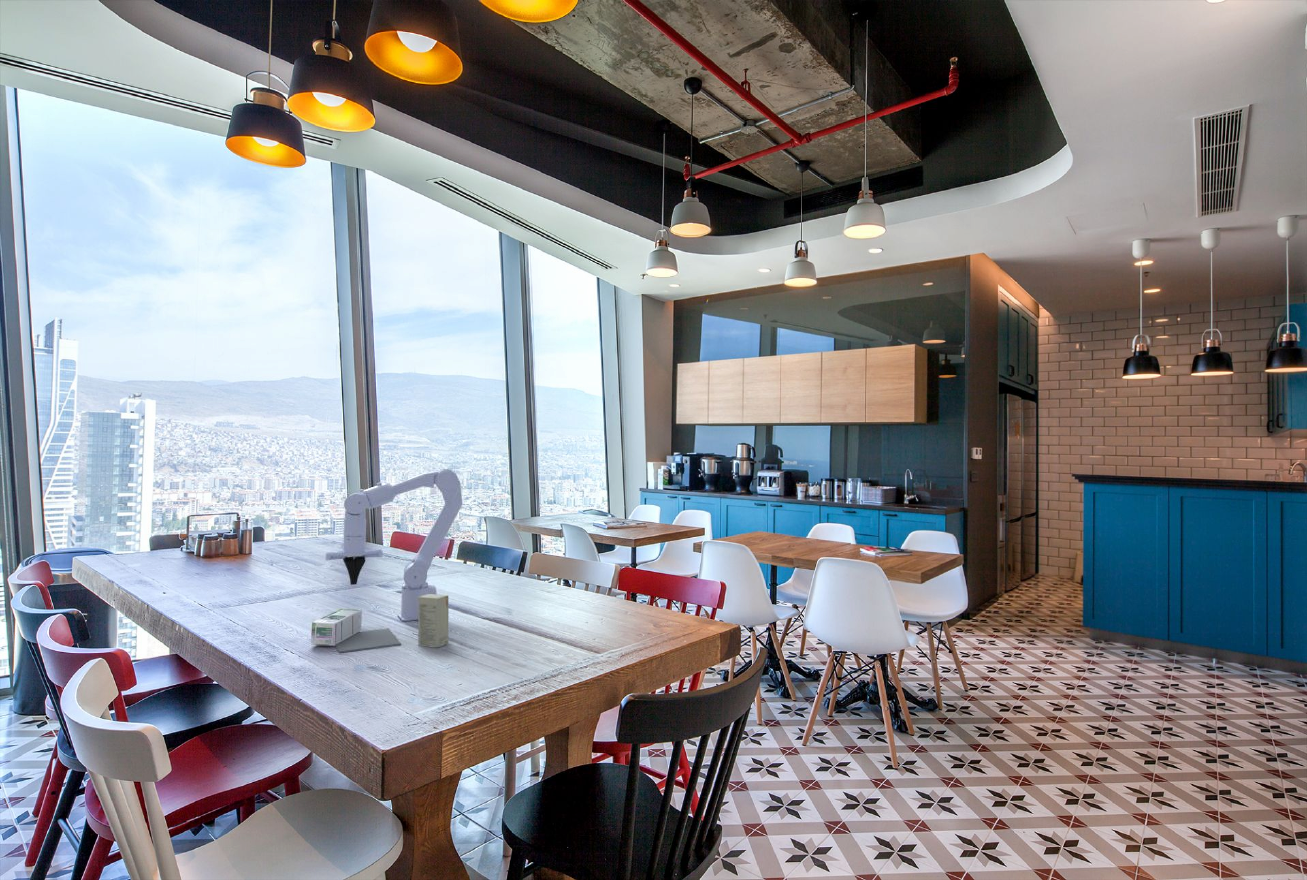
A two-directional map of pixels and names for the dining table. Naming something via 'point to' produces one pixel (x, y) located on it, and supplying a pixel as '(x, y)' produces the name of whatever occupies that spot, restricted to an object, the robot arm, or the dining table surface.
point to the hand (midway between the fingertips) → (353, 584)
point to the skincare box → (433, 620)
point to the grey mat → (368, 640)
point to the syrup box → (336, 627)
